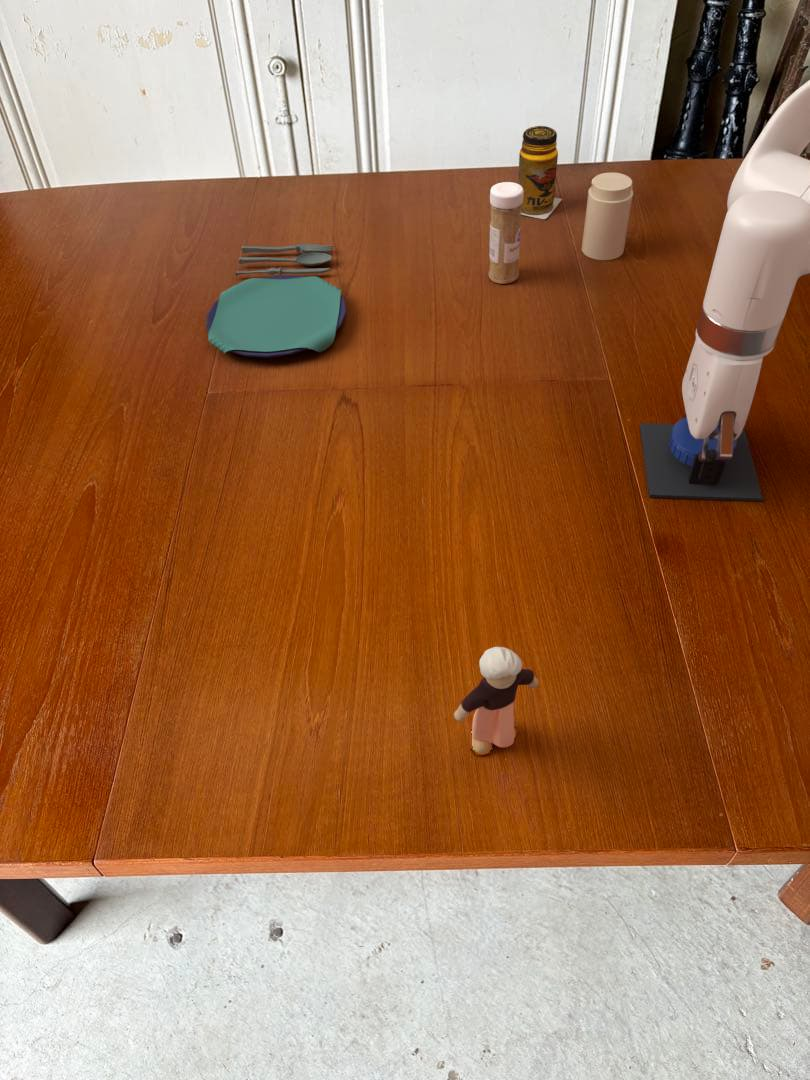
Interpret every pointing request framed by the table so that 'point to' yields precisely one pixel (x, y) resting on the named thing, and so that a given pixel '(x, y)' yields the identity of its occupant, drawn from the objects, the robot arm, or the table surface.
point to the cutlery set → (278, 307)
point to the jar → (607, 216)
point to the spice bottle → (505, 231)
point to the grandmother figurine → (495, 699)
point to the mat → (672, 474)
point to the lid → (689, 443)
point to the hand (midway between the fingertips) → (698, 458)
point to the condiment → (538, 171)
